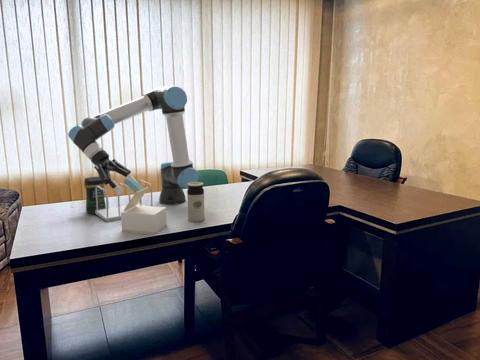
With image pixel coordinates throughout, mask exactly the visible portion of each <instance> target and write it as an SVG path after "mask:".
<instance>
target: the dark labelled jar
mask: <svg viewBox="0 0 480 360" xmlns="http://www.w3.org/2000/svg"><path fill="white" fill-rule="evenodd" d="M188 187H189V188H188V189H187V191H186V194H187V198H186V199H187V220H188V221H190V222H193V223H194V222H196V223H197V222H202V221H205V190H204V188H203V187H204V182H201V181H200V182H199V181H197V182H191V183H188Z"/></svg>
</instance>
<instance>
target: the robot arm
mask: <svg viewBox="0 0 480 360" xmlns="http://www.w3.org/2000/svg"><path fill="white" fill-rule="evenodd" d="M187 103H188V95H187V92H186V91H185V90H184V89H183V88H182V87H180V86H178V85H167V86H165V85H164V86H158V87H156V88H153V89H152V90H149V91H148V92H145V93H143V94H142V95H141V97H138V98H136V99H133V100H131V101H128V102H126V103H122V104H121V105H119V106H115V107H113V108H111V109H109V110H105V111H103V112H100V113H98V114H96V115H93V116H89V117H86V118H84V119H82V121H81V124H79V125H78V124H77V125H75V126H73V127H72V128H71V129H70V130H69V131H68V134H67V135H68V138H69V139H70V140H71V141H72V143H73V144H74V145H75V146H76V147H77V148H78V149H79V150H80V151H81V152H82V153H83V154H84V155H85V157H86V158H88V160H90V162H91V163H92V164H93V165H94V166H93V169H95V170H96V172H97V174H98V177H99V176H100V178H101V181H102V183H104V186H106V185H107V184H109V185H110V186H111V187H110V186H109V187H110V188H111V189H113V190H114V191H115V192H116V193H117V196H118V195H119V196H120V195H121V194H122V193H123V191H124V190H123V187H121V186H120V184H119V185H118V183H117V181H115V180H114V179H112V176H111V172H115V173H117V174H119V175H121V176H123V177H124V178H125V179H126V178H129V177H131V178H132V179H134V180H135V181H136V182H137V183H138V184H139V181H137V180H136V179H135V178H134V177H133V176H132V175H131V173H132V171H131V169H129V168H128V167H126V166H124V165H123V164H121V163H120V162H118V161H117V160H116V159H115V158H113V159H112V160H111V159H110V154H109V153H107V151H106V150H104V148H103V147H102V146H101V145H100V144H99V143H98V142H97V140H98V139H100V138H101V137H103V136H105V135H106V134H108V133H109V132H111V131H112V130H113V129H114V128H115V125H117V124H119V123H122V122H125V121H126V120H129V119H132V118H134V117H136V116H138V115H141V114H144V113H146V112H150V113H152V112H153V111H156V110H161V113H162V115H163V116H165V119H166V125H167V130H168V137H169V138H168V139H169V144H170V149H171V150H170V151H171V155H172V156H171V157H172V161H168V162H162V163H161V164H160V178H161V179H160V181H161V190H160V194H159V198H158V202H159V203H160V204H161V205H162V204H163V205H179V204H182V203H185V202H187V201H186V199H187V198H186V195H185V192H184V189H187V190H188V188H189V187H188V183H191V182H198V180H199V174H198V171H197V170H196V169H195V168H194V163H193V161H192V160H191V159H190V157H189V149H188V144H187V138H186V137H187V136H186V130H185V123H184V113H186V109H185V108H186V104H187Z"/></svg>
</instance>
